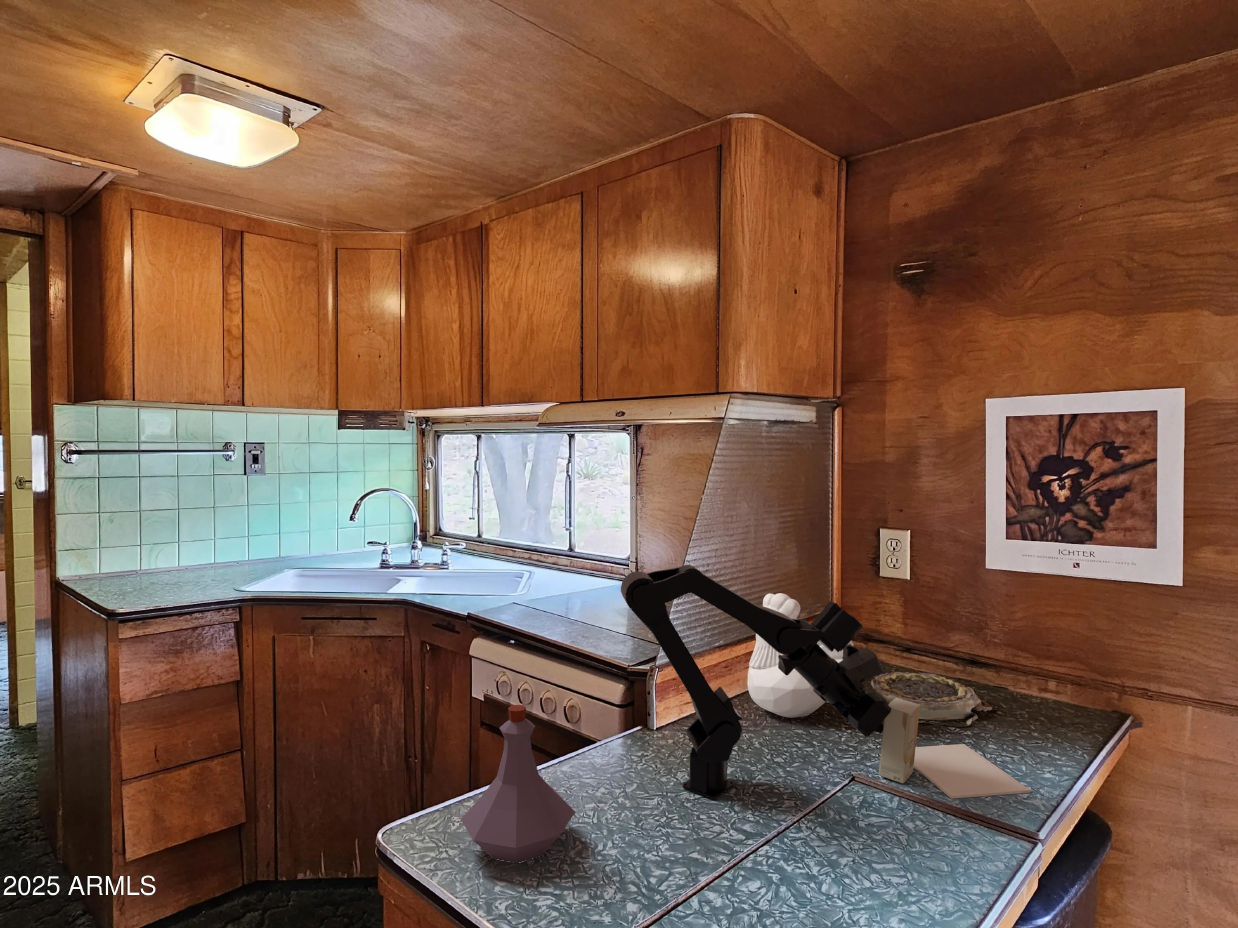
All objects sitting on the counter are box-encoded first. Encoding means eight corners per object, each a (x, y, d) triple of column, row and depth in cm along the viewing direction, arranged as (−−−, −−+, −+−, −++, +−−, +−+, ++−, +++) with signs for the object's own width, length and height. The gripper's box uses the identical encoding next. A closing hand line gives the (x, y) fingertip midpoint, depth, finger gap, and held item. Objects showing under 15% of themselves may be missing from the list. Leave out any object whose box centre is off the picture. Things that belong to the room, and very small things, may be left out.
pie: (856, 721, 149) (856, 697, 149) (853, 680, 175) (853, 660, 175) (1006, 736, 141) (1006, 711, 141) (979, 690, 167) (979, 669, 167)
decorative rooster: (731, 704, 157) (731, 592, 156) (785, 691, 165) (785, 584, 165) (817, 746, 136) (817, 616, 135) (873, 728, 144) (874, 605, 143)
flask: (521, 803, 115) (520, 680, 114) (599, 839, 105) (598, 704, 104) (436, 849, 102) (434, 711, 102) (515, 895, 92) (513, 741, 91)
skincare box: (903, 785, 120) (911, 714, 119) (877, 775, 123) (884, 706, 122) (914, 770, 126) (921, 703, 125) (889, 762, 128) (895, 696, 127)
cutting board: (951, 798, 116) (951, 795, 116) (894, 750, 134) (894, 748, 134) (1030, 792, 118) (1030, 789, 118) (963, 745, 136) (963, 743, 136)
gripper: (879, 651, 113) (944, 716, 115) (829, 622, 132) (886, 677, 134) (831, 704, 112) (898, 768, 114) (788, 666, 131) (845, 722, 133)
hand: (882, 730), depth 124 cm, fingers closed
